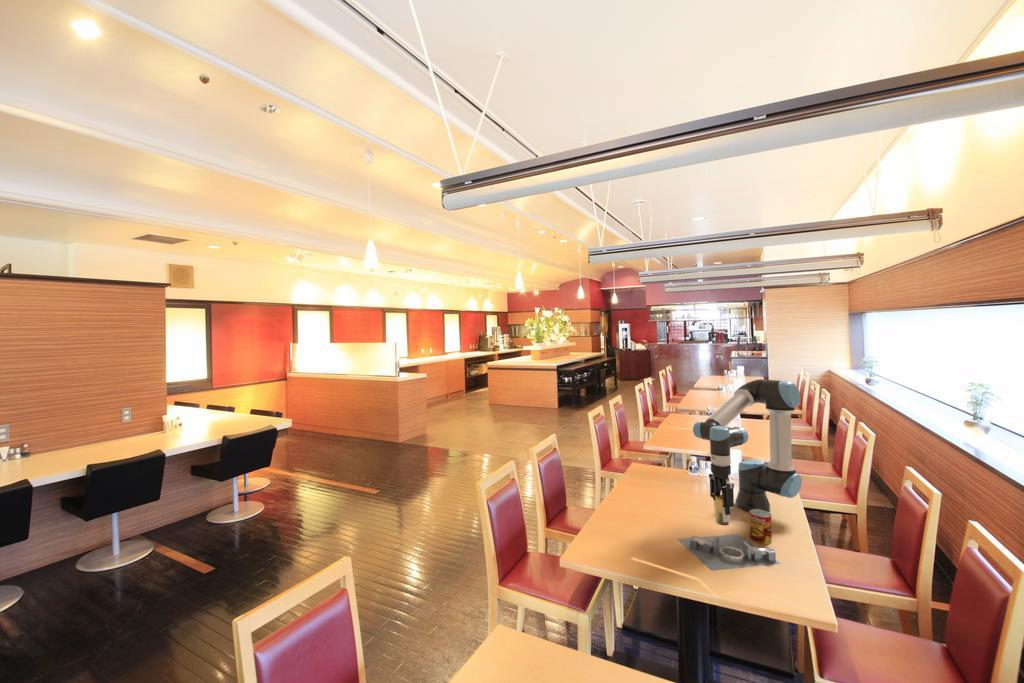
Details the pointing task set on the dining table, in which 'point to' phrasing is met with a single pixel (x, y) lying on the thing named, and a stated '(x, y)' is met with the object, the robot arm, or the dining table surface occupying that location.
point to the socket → (730, 558)
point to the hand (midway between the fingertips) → (722, 518)
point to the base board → (717, 561)
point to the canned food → (760, 526)
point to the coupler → (719, 510)
